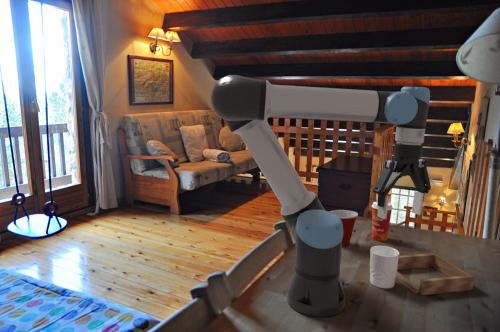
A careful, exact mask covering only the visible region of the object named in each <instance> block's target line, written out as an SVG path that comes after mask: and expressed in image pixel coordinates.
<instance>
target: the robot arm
mask: <svg viewBox="0 0 500 332" xmlns="http://www.w3.org/2000/svg"><path fill="white" fill-rule="evenodd" d="M210 100H211V101H210V102H211V106H212V108H213V110H214V112H215V113H216V114H217V115H218V116H219V117H220V118H221V119H223V121H224V122H225V124H226V126H227V127H228V128H229V129H228V130H230V132H231V134H234V135H237V136H240V138H241V140H242V142H243V143H244V144H245V146H246V148H247V150H248V152H249V153H250V155H251V157H252V158H253V160H254V161H255V163H256V166H258V168H259V170H260V172H261V173H262V175H263V177H264V179H265V180H266V181H267V183H268V185H269V187H270V188H271V189H272V192H273V193H274V195H275V196H276V198H277V200H278V201H279V203H280V205H281V208H280V212H279V213H280V215H281V217H282V218H283V220H284V221H285V224H286V225H287V227H288V228H289V230H290V232H291V233H292V237H293V239H294V244H295V245H294V246H295V253H294V254H295V255H294V257H295V260H294V272H293V275H292V277H291V280H290V282H289V285H288V288H287V292H286V301H287V304H288V305H289V306H290V307H291V308H292V309H293V310H294V311H296V312H298V313H300V314H303V315H306V316H311V317H317V318H326V317H332V316H333V317H334V316H335V315H338V314H340V313H341V312H342V311H344V308H345V306H346V295H345V291H344V287H343V283H342V280H341V279H342V278H341V263H342V260H341V259H342V238H343V224H342V221H341V219H340V218H339V217H338V216H337V215H335V214H331V213H330V211H328V210H326V209H325V208H324V206H323V205H322V203H321V201H320V199H319V198H318V196H317V194H316V193H315V192H313V191H310V190H308V189H307V187H306V186H305V183H304V182H303V179H301V177H300V175H299V174H298V172H297V170H296V168H295V166H294V165H293V163H292V162H291V160H290V158H289V156H288V155H287V153H286V152H285V150H284V148H283V146H282V144H281V143H280V141H279V140H278V137H277V136H276V134H275V133H274V130H273V129H272V127H271V126H270V124H269V122H268V120H267V119H268V118H270V117H277V118H292V119H293V118H294V119H310V120H313V119H315V120H330V121H347V122H348V121H349V122H350V121H351V122H366V123H367V122H368V123H378V124H379V123H380V124H381V123H383V124H392V125H394V126H395V125H396V127H395V128H396V129H395V135H394V136H395V137H394V140H395V142H394V145H393V152H392V154H393V156H394V160H390V159H386V160H385V162H384V165H383V169H382V171H381V173H380V175H379V177H378V179H377V181H376V183H375V185H374V187H373V189H372V192H373V193H374V194H376V195H377V197H378V198H377V202H378V204H377V205H378V214H377V216H378V217H380V218H383V219H386V217H387V209H388V203H389V202H390V201H389V198H390V196H389V195H388V194H389V193H390V192H391V190H392V189H393V187H394V186H395V185H396V183H397V182H398V181H399V180H400V179H402V178H403V177H407V176H408V177H410V179H411V182H412V183H413V185H414V187H415V189H416V191H414V192H413V201H412V207H411V208H412V209H411V213H413V214H415V215H418V216H421V214H422V209H423V204H424V201H425V194H429V191H431V190H432V186H431V181H430V177H429V171H428V168H427V166H428V163H427V162H428V161H427V160H426V159H422V156H423V151H424V146H423V145H422V144H424V142H425V135H426V134H425V133H426V127H427V120H428V114H429V113H428V112H429V108H430V103H431V101H430V100H431V91H430V89H429V88H428V87H424V86H403V87H402V88H401V89H400V91H399V90H398V91H387V90H386V91H384V90H381V91H380V90H368V89H367V90H366V89H365V90H364V89H351V88H350V89H348V88H335V87H334V88H333V87H331V88H330V87H319V86H318V87H317V86H314V87H313V86H300V85H299V86H297V85H285V84H284V85H282V84H281V85H280V84H272V83H270V81H269V79H259V78H257V79H256V78H252V77H251V78H250V77H246V76H242V75H238V74H229V75H225V76H224V77H221V78H219V80H218V81H217V82H216V83H215V84H214V85H213V87H212V90H211V94H210Z"/></svg>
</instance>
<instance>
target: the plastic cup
mask: <svg viewBox="0 0 500 332" xmlns="http://www.w3.org/2000/svg"><path fill="white" fill-rule="evenodd" d="M329 212H330V213H331V214H335V215H337V216H338V217H339V218H340V219H341V221H342V224H343V238H342V247H349V245H350V244H351V239H352V236H353V232H354V227H355V223H356V221H357V217H358V216H359V214H358V212H357V211H353V210H347V209H346V210H345V209H335V210H331V211H329Z"/></svg>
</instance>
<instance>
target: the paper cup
mask: <svg viewBox="0 0 500 332" xmlns="http://www.w3.org/2000/svg"><path fill="white" fill-rule="evenodd" d="M377 204H378V201H373V202H372V205H371V209H372V212H371V239H372V240H373V241H377V242H386V241H387V240H388V238H389V237H388V236H389V231H390V225H391V224H390V223H391V219H392V218H391V217H392V211H393V209H394V208H393V204H392V203H391V202H388V209H387V217H386V219H383V218H380V217H378V216H377V214H378V205H377Z"/></svg>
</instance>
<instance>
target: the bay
mask: <svg viewBox="0 0 500 332" xmlns="http://www.w3.org/2000/svg"><path fill="white" fill-rule="evenodd" d="M431 267H432V268H434V269H436V270H437V271H439V272H440V273H442V274H443V275H445V276H444V277H433V278H422V279H420V283H419V287H418V286H417V285H415V284H414V283H413V282H412V281H411V280H409V279H408V278H407V277H405V276H404V275H403V274H401V273H400V272H399V270H409V269H411V270H412V269H419V268H420V269H421V268H431ZM395 279H396V280H398V281H399V282H400V283H401V284H403V285H404V286H406V288H408V289H409V290H410V291H411V292H412V293H413V294H420V295H421V296H424V295H425V296H427V295H435V294H446V293H454V292H464V291H466V292H467V291H473V289H474V288H473V287H474V281H475V280H474V279H475V277H474V276H473V275H472V274H470V273H468V272H467V271H466V270H463V269H462V268H461V267H459V266H457V265H456V264H453V263H452V262H451V261H449V260H447V259H446V258H444V257H442V256H441V255H439V254H437V253H435V252H432V253H422V254H421V253H420V254H408V255H407V254H406V255H399V260H398V267H397V272H396V277H395Z"/></svg>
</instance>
